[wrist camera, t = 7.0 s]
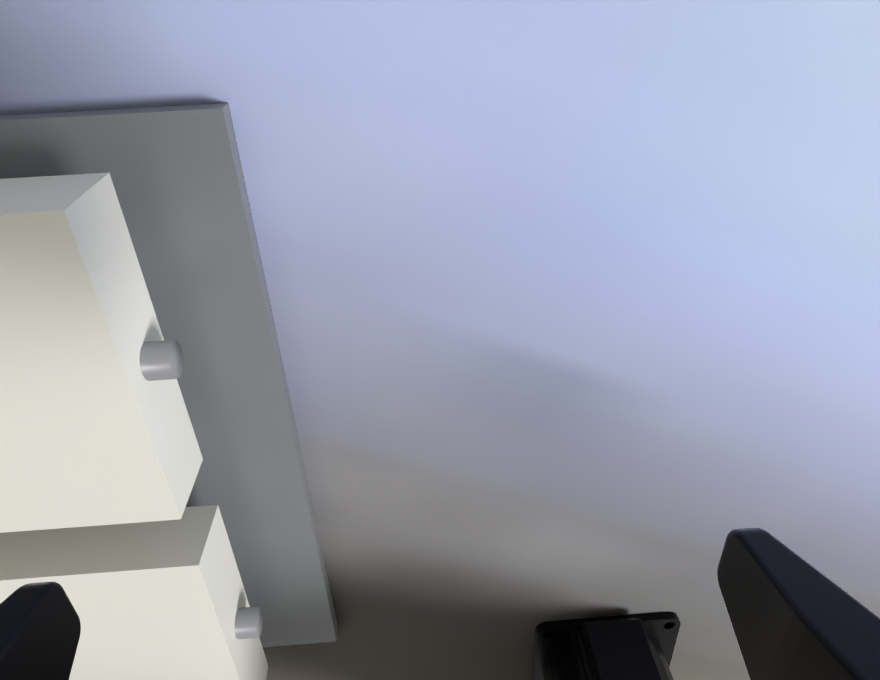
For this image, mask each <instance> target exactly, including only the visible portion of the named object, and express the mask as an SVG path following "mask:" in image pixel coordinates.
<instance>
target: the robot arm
mask: <svg viewBox="0 0 880 680" xmlns="http://www.w3.org/2000/svg"><path fill="white" fill-rule="evenodd" d="M717 574H718V582H719V586H720V589H721V592H722V595H723V598H724V601H725V604H726V607H727V610H728V613H729V616H730V619H731V622H732V625H733V628H734V631H735V634H736V637H737V640H738V643H739V646H740V649H741V652H742V655H743V658H744V661H745V664H746V667H747V670H748V673H749V676H750V679H751V680H880V618H879V617H878V616H876V615H875V614H874V613H872V612H871V611H870V610H869V609H867V608H866V607H865V606H863V605H862V604H861V603H859V602H858V601H857V600H855V599H854V598H853V597H852V596H850V595H849V594H848V593H846V592H845V591H844V590H842V589H841V588H840V587H839V586H837V585H836V584H835V583H833V582H832V581H831V580H829V579H828V578H827V577H826V576H824V575H823V574H822V573H820V572H819V571H818V570H816V569H815V568H814V567H813V566H811V565H810V564H809V563H807V562H806V561H805V560H803V559H802V558H801V557H799V556H798V555H797V554H796V553H794V552H793V551H792V550H790V549H789V548H788V547H786V546H785V545H784V544H783V543H781V542H780V541H779V540H777V539H776V538H775V537H773V536H772V535H771V534H770V533H768V532H767V531H765V530H763V529H760V528H745V529H734V530H732V531H731V532H730V533H729V534H728V536H727V538H726V542H725V545H724V548H723V552H722V555H721V558H720V562H719V565H718V573H717ZM679 628H680V621H679V618H678V616H677V614H676V613H674V612H660V613H647V614H635V615H622V616H610V617H597V618H585V619H572V620H560V621H548V622H543V623H540V624H539V625H538V626H537V627H536V630H535V645H534V660H533V676H532V680H674V679H673V677H672V674H671V671H670V669H669V665H670V661H671V658H672V654H673V650H674V646H675V643H676V639H677V635H678V631H679ZM80 632H81V623H80V619H79V616H78V614H77V612H76V610H75V609H74V607H73V605H72V603H71V602H70V600H69V598H68V596H67V594H66V593H65V591H64V589H63V587H62V586H61V585H60V584H59V583H57V582H52V581H51V582H38V583H29V584H25V585H23V586H21V587H19V588H18V589H17V590H15V591H14V592H13V593H12V594H11V595H10V596H8V597H7V598H6V599H5V600H4V601H3V602H2V603H0V680H69V677H70V673H71V669H72V666H73V662H74V658H75V654H76V650H77V646H78V642H79V638H80Z"/></svg>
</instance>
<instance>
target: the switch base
mask: <svg viewBox="0 0 880 680" xmlns="http://www.w3.org/2000/svg"><path fill="white" fill-rule="evenodd" d="M92 173H110V176H111V179H112V182H113V185H114V188H115V192H116V195H117V198H118V201H119V204H120V207H121V210H122V213H123V216H124V219H125V222H126V225H127V228H128V231H129V234H130V237H131V240H132V244H133V247H134V250H135V253H136V256H137V259H138V262H139V265H140V268H141V271H142V274H143V277H144V280H145V283H146V286H147V289H148V292H149V296H150V299H151V302H152V305H153V308H154V311H155V314H156V317H157V320H158V323H159V326H160V329H161V332H162V335H163V338H164V340H177V341H178V342H179V344H180V346H181V348H182V352H183V360H184V364H183V371H182V374H181V376H180V378H178V379H177V381H178V384H179V387H180V390H181V393H182V396H183V400H184V403H185V406H186V409H187V412H188V415H189V418H190V421H191V424H192V427H193V430H194V433H195V436H196V439H197V442H198V445H199V448H200V452H201V455H202V458H203V460H202V463H201V466H200V469H199V471H198V474H197V477H196V480H195V482H194V485H193V488H192V491H191V493H190V496H189V499H188V502H187V504H186V507H196V506H210V505H218V506H219V509H220V513H221V516H222V519H223V522H224V525H225V529H226V532H227V535H228V538H229V541H230V545H231V548H232V551H233V554H234V557H235V561H236V564H237V567H238V570H239V574H240V577H241V580H242V583H243V586H244V590H245V593H246V596H247V599H248V602H249V606H250V607H257V606H260V607H261V609H262V613H263V626H262V632H261V635H260V637H259V638H260V641H261V644H262V647H263V648H264V647H276V646H289V645H301V644H313V643H326V642H337V635H338V625H337V620H336V616H335V611H334V606H333V601H332V596H331V592H330V587H329V582H328V577H327V573H326V568H325V563H324V558H323V553H322V549H321V544H320V539H319V534H318V530H317V525H316V520H315V515H314V510H313V506H312V501H311V496H310V491H309V486H308V482H307V477H306V472H305V467H304V463H303V458H302V453H301V448H300V443H299V439H298V434H297V429H296V424H295V420H294V415H293V410H292V405H291V400H290V396H289V391H288V386H287V381H286V377H285V372H284V367H283V362H282V357H281V353H280V348H279V343H278V338H277V334H276V329H275V324H274V319H273V314H272V310H271V305H270V300H269V295H268V291H267V286H266V281H265V276H264V271H263V267H262V262H261V257H260V252H259V248H258V243H257V238H256V233H255V228H254V224H253V219H252V214H251V209H250V204H249V200H248V195H247V190H246V185H245V181H244V176H243V171H242V166H241V161H240V157H239V152H238V147H237V142H236V138H235V133H234V128H233V123H232V118H231V114H230V109H229V104H228V103H216V104H198V105H180V106H161V107H143V108H125V109H107V110H89V111H71V112H53V113H34V114H16V115H0V179H6V178H24V177H41V176H58V175H75V174H92Z"/></svg>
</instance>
